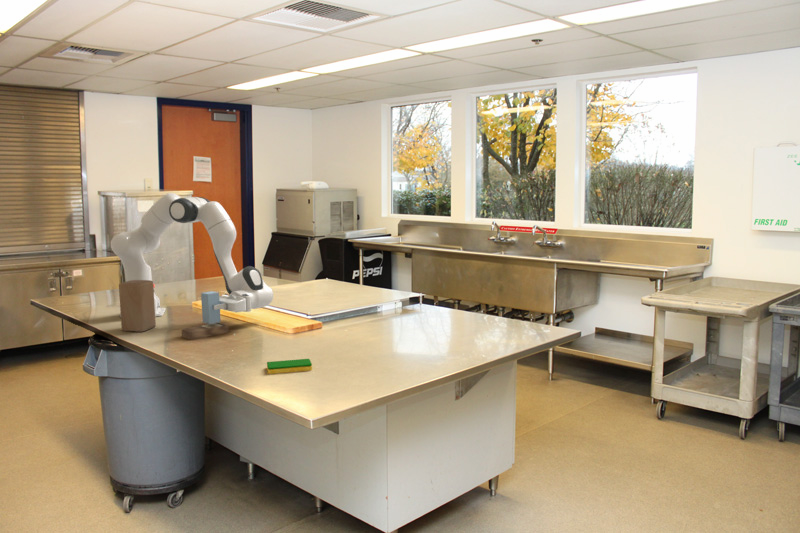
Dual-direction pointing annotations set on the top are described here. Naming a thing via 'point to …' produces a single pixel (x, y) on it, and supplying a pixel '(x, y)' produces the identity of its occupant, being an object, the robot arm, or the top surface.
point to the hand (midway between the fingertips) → (208, 306)
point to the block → (137, 305)
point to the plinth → (204, 331)
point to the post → (210, 307)
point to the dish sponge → (289, 366)
